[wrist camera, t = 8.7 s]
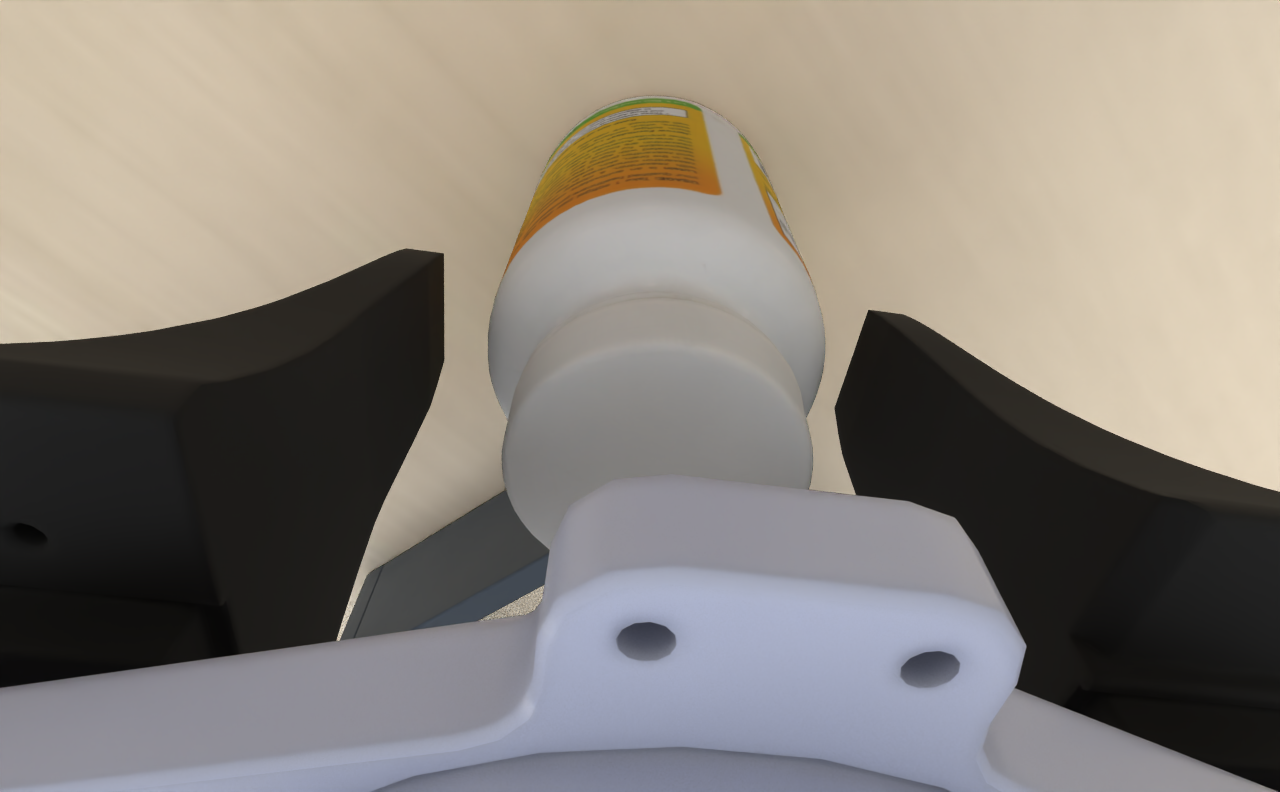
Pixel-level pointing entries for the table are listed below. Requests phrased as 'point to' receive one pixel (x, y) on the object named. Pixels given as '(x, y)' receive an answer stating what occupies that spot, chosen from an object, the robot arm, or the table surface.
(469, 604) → the tray
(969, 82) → the table surface
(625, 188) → the supplement bottle
